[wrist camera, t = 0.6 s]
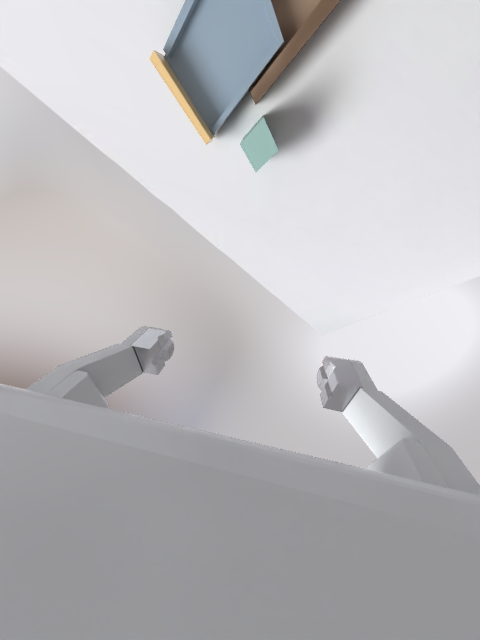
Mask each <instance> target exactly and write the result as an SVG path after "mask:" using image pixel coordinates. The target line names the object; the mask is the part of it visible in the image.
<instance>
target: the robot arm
mask: <svg viewBox="0 0 480 640" xmlns="http://www.w3.org/2000/svg"><path fill="white" fill-rule="evenodd" d="M171 337H172V334H171V331H169V330H164V329H159V328H154V327H147V326H142V327H140V328H139V329H138V330H137V331H135V332H134V333H133V334H132V335H131V336H129V337H128V338H127V339H126V340H125V341H123V342H122V343H121V344H116V345H113V346H110V347H108V348H105V349H102V350H99V351H97V352H94V353H91V354H89V355H86V356H83V357H80V358H78V359H75V360H72V361H70V362H67V363H64V364H62V365H59V366H58V367H56V368H55V369H53V370H52V371H51V372H49V373H48V374H46V375H45V376H43V377H42V378H41V379H39V380H38V381H36V382H35V383H34V384H32V385H31V386H29V387H28V388H27V389H22V388H17V387H13V386H9V385H4V384H0V640H480V485H479V484H478V483H477V481H476V480H475V478H474V477H473V476H472V474H471V473H470V472H469V470H468V469H467V468H466V467H465V465H464V464H463V462H462V461H461V460H460V458H459V457H458V455H457V454H456V453H455V451H454V450H453V449H452V448H451V447H450V446H449V445H448V444H447V443H445V442H444V441H443V440H442V439H440V438H439V437H438V436H437V435H435V434H434V433H433V432H432V431H430V430H429V429H428V428H426V427H425V426H424V425H423V424H422V423H420V422H419V421H418V420H416V419H415V418H414V417H413V416H411V415H410V414H409V413H408V412H406V411H405V410H404V409H403V408H402V407H400V406H399V405H398V404H396V403H395V402H394V401H393V400H391V399H390V398H389V397H388V396H387V395H385V394H384V393H383V392H381V391H378V390H377V388H376V387H375V385H374V383H373V381H372V380H371V378H370V376H369V374H368V373H367V371H366V369H365V367H364V366H363V364H362V363H361V362H360V361H355V360H349V359H348V360H347V359H341V358H334V357H328V356H326V357H325V358H324V360H323V365H324V366H322V367H320V368H319V370H318V374H317V383H318V387H319V388H320V389H321V390H322V392H321V394H320V396H321V400H322V405H323V408H327V409H331V410H336V411H341V412H343V414H344V416H345V417H346V418H347V420H348V421H349V422H350V423H351V425H352V426H353V427H354V429H355V430H356V431H357V432H358V434H359V435H360V436H361V438H362V439H363V440H364V441H365V443H366V444H367V445H368V447H369V448H370V449H371V450H372V452H373V453H374V454H375V456H376V457H377V459H376V460H375V461H373V462H372V463H371V464H370V465H369V466H368V469H364V468H360V467H356V466H352V465H347V464H343V463H339V462H334V461H330V460H325V459H321V458H317V457H313V456H309V455H305V454H300V453H296V452H292V451H287V450H283V449H279V448H275V447H270V446H266V445H262V444H258V443H253V442H248V441H245V440H240V439H236V438H232V437H228V436H223V435H219V434H215V433H210V432H206V431H202V430H197V429H193V428H189V427H185V426H180V425H176V424H172V423H168V422H163V421H158V420H155V419H150V418H146V417H142V416H138V415H133V414H129V413H125V412H120V411H116V410H112V409H107V408H108V403H107V401H106V400H105V399H104V397H106V396H107V395H109V394H111V393H112V392H114V391H115V390H117V389H119V388H120V387H122V386H123V385H124V384H126V383H128V382H130V381H131V380H133V379H134V378H136V377H137V376H139V375H141V374H142V373H143V372H144V373H150V374H156V375H158V374H159V373H160V371H161V370H162V368H163V367H164V366H165V361H167V360H168V359H170V357H171V356H172V354H173V351H174V344H173V342H172V341H171Z"/></svg>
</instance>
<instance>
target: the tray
mask: <svg viewBox="0 0 480 640" xmlns="http://www.w3.org/2000/svg"><path fill="white" fill-rule="evenodd" d="M283 43H284V40H283V37H282V34H281V30H280V27H279V24H278V21H277V18H276V15H275V12H274V9H273V6H272V3H271V0H186V1H185V3H184V5H183V7H182V9H181V11H180V14H179V16H178V18H177V20H176V22H175V25H174V27H173V29H172V31H171V33H170V36H169V38H168V40H167V42H166V44H165V47H164V49H163V50H164V51H165V53H166V54H165V56H163V55H161V54H160V53H158V52H156V51H153V53H152V55H151V58H150V60H151V62H152V63H153V65H154V66H155V68H156V69H157V71H158V72H159V74H160V75H161V77H162V78H163V80H164V81H165V83H166V84H167V86H168V87H169V89H170V91H171V92H172V94H173V95H174V97H175V98H176V100H177V101H178V103H179V104H180V106H181V107H182V109H183V110H184V112H185V113H186V115H187V116H188V118H189V119H190V121H191V122H192V124H193V125H194V127H195V128H196V130H197V131H198V133H199V134H200V136H201V137H202V139H203V140H204V142H205V143H206V145H207V144H208V143H210V142H211V141H212V140H213V138H214V137H215V136H214V135H215V134H216V132H217V131H218V130H219V128H220V127H221V126H222V124H223V123H224V122H225V121H226V119H227V118H228V117H229V115H230V114H231V113H232V111H233V110H234V109H235V107H236V106H237V105H238V103H239V102H240V101H241V99H242V98H243V97H244V95H245V94H246V93H247V92H248V90H249V89H250V88H251V86H252V85H253V84H254V82H255V81H256V80H257V78H258V77H259V76H260V74H261V73H262V72H263V70H264V69H265V68H266V66H267V65H268V64H269V62H270V61H271V60H272V59H273V57H274V56H275V55H276V53H277V52H278V51H279V49H280V48H281V47H282V45H283Z"/></svg>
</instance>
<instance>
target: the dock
mask: <svg viewBox="0 0 480 640" xmlns="http://www.w3.org/2000/svg"><path fill="white" fill-rule="evenodd" d="M340 1H341V0H271V3H272V6H273V9H274V12H275V15H276V18H277V21H278V24H279V27H280V30H281V34H282V37H283V40H284V43H283V45H282V47H281V48H280V49H279V51H278V52H277V53H276V55H275V56H274V57H273V59H272V60H271V61H270V62H269V64H268V65H267V66H266V68H265V69H264V70H263V72H262V73H261V74H260V76H259V77H258V78H257V80H256V81H255V82H254V84H253V85H252V86H251V88H250V89H249V91H250V93H251V95H252V98H253V100H254V102H255V104H257V103H258V102H259V100H260V99H261V98H262V97H263V95H264V94H265V93H266V92H267V90H268V89H269V88H270V87H271V86H272V84H273V83H274V82H275V81H276V79H277V78H278V77H279V76H280V75H281V73H282V72H283V71H284V70H285V68H286V67H287V66H288V65H289V63H290V62H291V61H292V60H293V59H294V57H295V56H296V55H297V54H298V52H299V51H300V50H301V49H302V47H303V46H304V45H305V44H306V43H307V41H308V40H309V39H310V38H311V36H312V35H313V34H314V33H315V31H316V30H317V29H318V28H319V27H320V25H321V24H322V23H323V22H324V20H325V19H326V18H327V17H328V16H329V14H330V13H331V12H332V11H333V9H334V8H335V7H336V6H337V4H338V3H339V2H340Z"/></svg>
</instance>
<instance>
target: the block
mask: <svg viewBox="0 0 480 640" xmlns="http://www.w3.org/2000/svg"><path fill="white" fill-rule="evenodd" d="M240 145H241V147H242V148H243V150H244V152H245V154H246V156H247V157H248V159H249V161H250V163H251V165H252V166H253V168H254V170H255V172H257V171H258V170H259V169H260V168H261V167H262V166H263V165H264V164H265V163H266V162H267V161H268V160H269V159H270V158H271V157H272V156H273V155H274V154H275V153H276V152H277V151H278V148H277V146H276V144H275V141H274V139H273V137H272V135H271V132H270V130H269V128H268V126H267V124H266V121H265V119H264V117H263V116H262V117H261V118H260V119H259V121H258V122H257V123H256V124H255V125H254V126H253V128H252V129H251V130H250V131H249V132H248V133H247V135H246V136H245V137H244V138H243V140H242V142H241V143H240Z"/></svg>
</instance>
